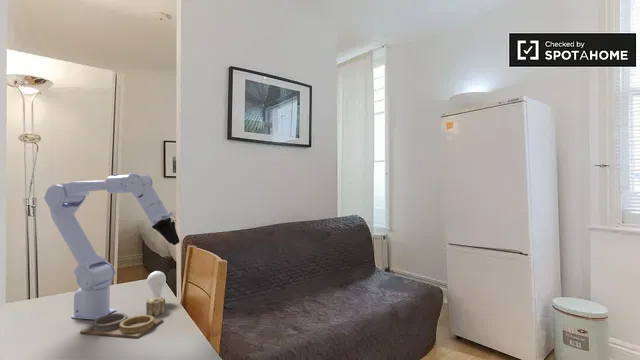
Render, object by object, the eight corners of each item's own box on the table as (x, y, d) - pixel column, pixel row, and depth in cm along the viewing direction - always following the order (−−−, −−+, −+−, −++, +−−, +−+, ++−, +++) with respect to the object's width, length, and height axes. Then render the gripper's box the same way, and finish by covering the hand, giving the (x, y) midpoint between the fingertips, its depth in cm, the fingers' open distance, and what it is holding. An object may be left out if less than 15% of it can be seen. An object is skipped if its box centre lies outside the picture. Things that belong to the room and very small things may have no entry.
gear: (142, 315, 105) (142, 302, 105) (153, 308, 110) (153, 296, 110) (157, 316, 104) (157, 303, 104) (168, 309, 109) (168, 297, 109)
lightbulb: (158, 306, 113) (158, 274, 113) (142, 304, 114) (142, 273, 114) (169, 299, 119) (169, 269, 119) (154, 298, 120) (154, 268, 120)
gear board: (80, 333, 92) (80, 326, 92) (111, 317, 103) (111, 311, 103) (137, 338, 89) (137, 330, 89) (163, 321, 100) (163, 314, 100)
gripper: (161, 195, 99) (184, 233, 98) (168, 204, 112) (189, 237, 112) (138, 207, 96) (162, 246, 96) (148, 215, 110) (169, 249, 109)
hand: (175, 242), depth 103 cm, fingers open, 7 cm apart
